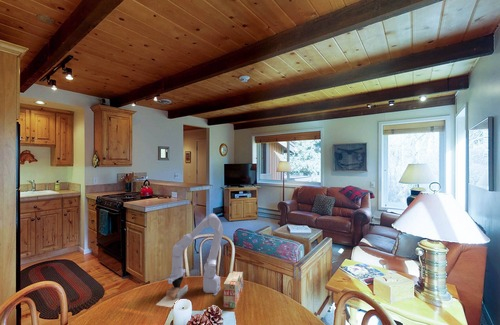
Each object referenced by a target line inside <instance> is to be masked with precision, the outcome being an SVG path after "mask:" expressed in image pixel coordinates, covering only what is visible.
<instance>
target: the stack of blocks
mask: <svg viewBox="0 0 500 325" xmlns="http://www.w3.org/2000/svg"><path fill="white" fill-rule="evenodd" d="M243 288H244V272H243V271H232V272H229V274H228V275H227V277H226V279H225V281H224V282H223V301H222V302H223V305H222V306H223V308H227V309H236V307H237V305H238V303H239V301H240V296H241V293H242V291H243Z"/></svg>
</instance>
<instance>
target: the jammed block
mask: <svg viewBox="0 0 500 325" xmlns="http://www.w3.org/2000/svg"><path fill="white" fill-rule="evenodd" d="M178 292H179V288H177V287H173V286H171V287H169V289H168V290H167V291H166V295H167V297H166V299H170V300H175V299H176V298H177V293H178Z"/></svg>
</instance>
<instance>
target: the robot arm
mask: <svg viewBox="0 0 500 325" xmlns="http://www.w3.org/2000/svg"><path fill="white" fill-rule="evenodd" d="M223 227H224V226H223V225H222V222H221V220H220V218H219V217H218V215H217V214H216V213H213V212H212V213H209V214H207V216H206V217H204V218H203V219H202V220H201V221H200V223H199V224H197V226H195V227H194V229H193V230H192V231H191V232H190V233H186V234H183V235H182V238H181V239H180V240H179V241H177V242H176V243H175V244H174V245H173V246H172V250H171V254H172V258H171V273H170V274H169V276H170V277H169V279H167V284H168V285H172V287H173V286H174V287H177V288H179V289H180V288H181V285H182V281H183V279H184V276H183V275H184V274H185V273H186V269H185V268H183V266H184V265H183V262H184V261H183V260H184V257H183V254H184V251H185V250H186V249H187V248H188V247H189V246H191V244H192V243H193V242H194V238H195V237H196V236H197V235H198V234H200V233H201V232H202V231H203V230H204V229H208V228H212V229H213V231H214V234H213V237H212V241H211V245H210V250H209V254H208V256H207V260H206V262H205V263H204V265H203V269H204V273H203V275H202V276H203V278H202V280H203V281H202V283H203V284H202V285H203V286H202V289H203V290H202V291H203V293H207V294H209V293H212V296H217V295H218V293H219V292H220V291H221V276H219V275H217V270H216V266H217V258H218V254H219V250H220V247H221V243H222V238H223V234H224V228H223Z"/></svg>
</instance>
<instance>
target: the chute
mask: <svg viewBox="0 0 500 325" xmlns="http://www.w3.org/2000/svg"><path fill="white" fill-rule="evenodd" d="M188 286H189V285H188V284H185V285H184V286H183V287H180V289H179V292H178V293H177V298H176V299H175V300H170V299H166V297H167V294H166V295H165V296H163V298H162V299H160V301H158V302H157V303H156V304H155V305H156V306H160V307H166V308H167V307H168V308H173V307H174V305H175V304H176V303H177V302H178V301H179V300H180V299H181V298H182V297H184V295H185V294H186V293H187V292H188V291H189V290H190V289H188V288H189V287H188ZM172 287H174V286H173V285H172ZM177 300H178V301H177ZM176 301H177V302H176ZM175 302H176V303H175ZM174 303H175V304H174Z"/></svg>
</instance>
